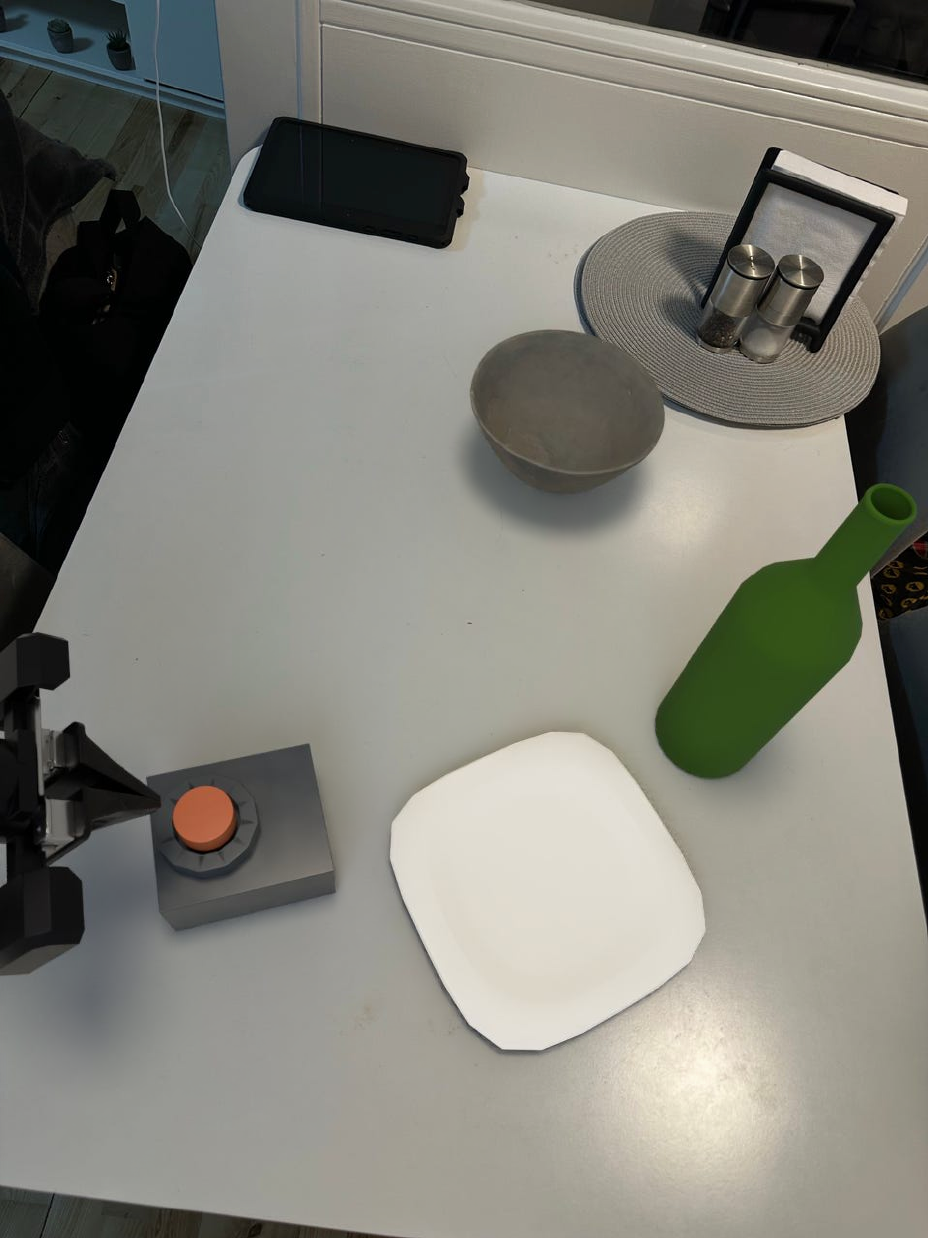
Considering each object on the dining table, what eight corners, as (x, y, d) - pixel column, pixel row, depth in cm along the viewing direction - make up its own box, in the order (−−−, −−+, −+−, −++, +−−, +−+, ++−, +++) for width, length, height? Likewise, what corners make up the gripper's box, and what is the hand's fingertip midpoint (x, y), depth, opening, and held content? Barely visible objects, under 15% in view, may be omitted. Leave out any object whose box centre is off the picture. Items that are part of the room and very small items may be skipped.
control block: (175, 932, 65) (154, 906, 58) (161, 804, 70) (140, 767, 63) (336, 892, 68) (333, 863, 61) (312, 772, 72) (308, 733, 66)
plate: (586, 714, 78) (590, 706, 76) (731, 944, 69) (739, 940, 67) (361, 818, 71) (361, 811, 69) (489, 1089, 62) (492, 1088, 60)
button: (181, 857, 60) (176, 848, 59) (175, 802, 62) (169, 792, 61) (240, 843, 61) (236, 835, 60) (232, 790, 63) (228, 780, 61)
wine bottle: (723, 677, 81) (913, 432, 54) (770, 765, 77) (1001, 548, 49) (637, 700, 79) (788, 457, 51) (680, 792, 75) (869, 581, 47)
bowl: (437, 415, 94) (445, 342, 86) (597, 389, 99) (619, 317, 90) (494, 554, 86) (509, 488, 77) (666, 518, 90) (698, 452, 82)
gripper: (-164, 691, 53) (80, 729, 65) (-192, 1019, 44) (97, 993, 56) (-77, 599, 48) (170, 657, 60) (-89, 947, 39) (204, 935, 51)
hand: (157, 804), depth 57 cm, fingers closed
